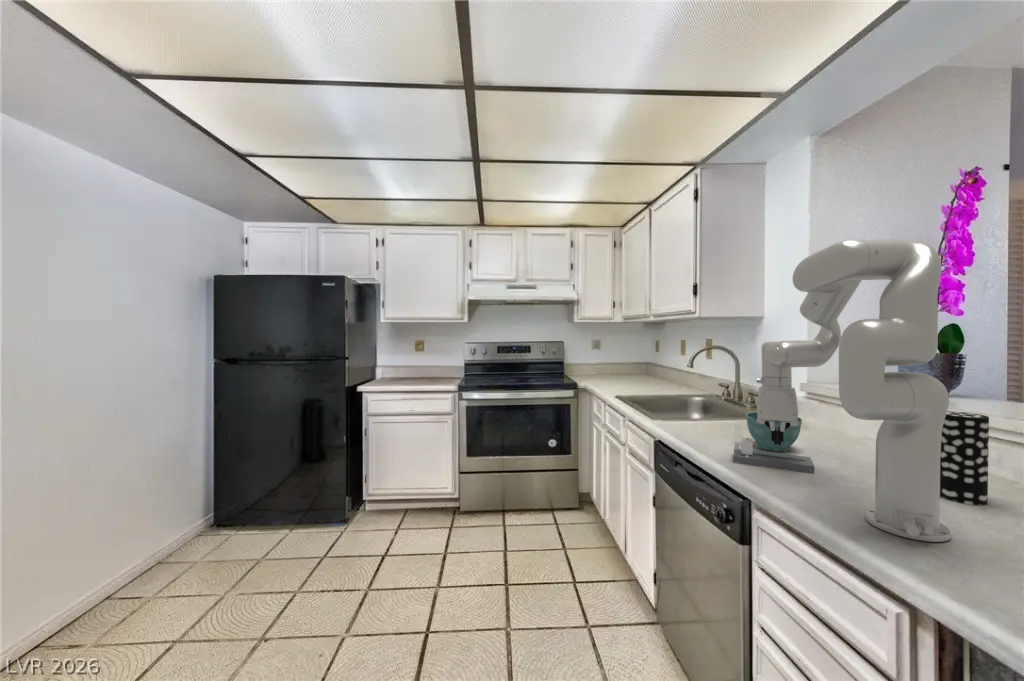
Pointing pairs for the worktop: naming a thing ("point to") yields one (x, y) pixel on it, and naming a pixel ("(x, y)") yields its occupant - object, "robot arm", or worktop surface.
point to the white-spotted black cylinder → (964, 458)
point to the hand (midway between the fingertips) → (777, 443)
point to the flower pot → (764, 434)
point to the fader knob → (747, 446)
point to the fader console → (775, 460)
